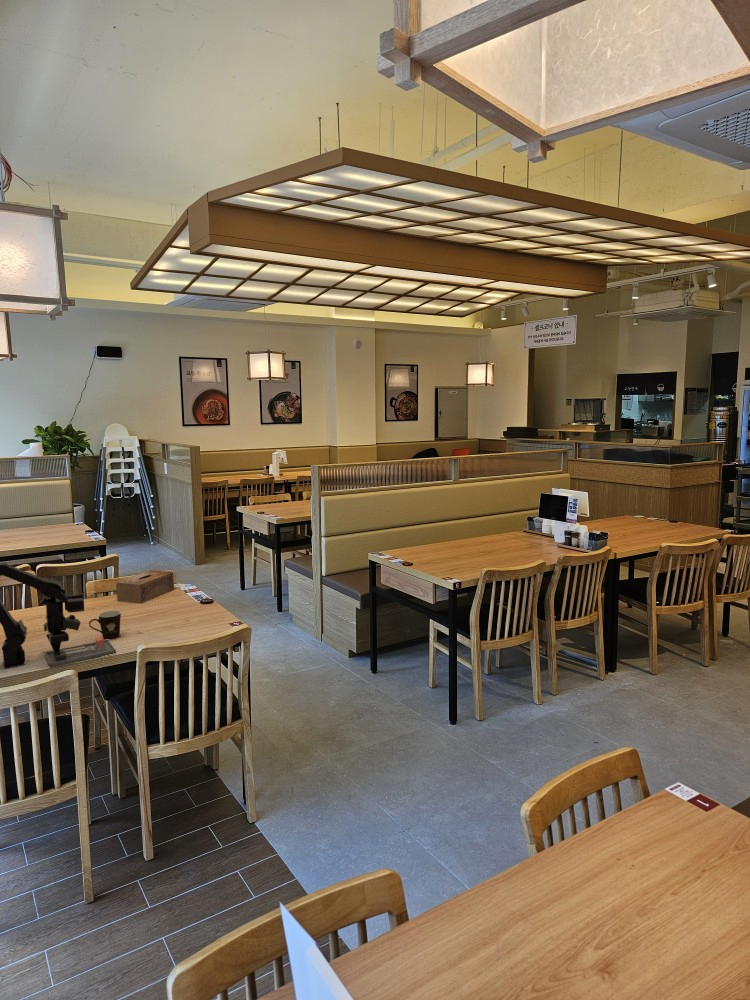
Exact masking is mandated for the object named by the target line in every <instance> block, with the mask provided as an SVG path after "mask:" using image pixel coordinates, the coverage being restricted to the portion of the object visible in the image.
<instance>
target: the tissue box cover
mask: <svg viewBox="0 0 750 1000" xmlns="http://www.w3.org/2000/svg"><path fill="white" fill-rule="evenodd" d="M174 580H175V579H174V571H166V570H153V569H152V570H151V569H149V570H147V571H144V572H141V573H138V574H136V575H134V576H130V577H126V578H125V579H121V580H119V581H116V582H115V584H116V585H115V586H116V587H115V588H116V589H115V590H116V599H117V602H121V603H130V604H131V603H132V604H140V605H142V604H144V603H147V602H148V601H151V600H154V599H155V598H158V597H160V595H161V596H163V595H166V594H168V593H170V592H172V591H173V592H174V591H175V583H174V582H175V581H174ZM165 593H166V594H165Z"/></svg>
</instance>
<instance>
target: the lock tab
mask: <svg viewBox="0 0 750 1000" xmlns="http://www.w3.org/2000/svg"><path fill="white" fill-rule="evenodd" d="M104 640H105V639H103V636H100V637H99V636H98V637H95V642H96V645H97V647H99V646H104Z"/></svg>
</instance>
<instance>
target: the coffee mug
mask: <svg viewBox="0 0 750 1000" xmlns="http://www.w3.org/2000/svg"><path fill="white" fill-rule="evenodd" d="M121 613H122V612H121V611H119V610H108V611H107V610H106V611H103V612H100V613H99V614H98V615H97V616H98V619H97V618H92V619H91V620H90V621H89V623H88V625H89V627H90V629H92V630H94V631H96V632H100V633H101V635H102V636H101V637H102V638H103V639H104V640H105V639H111V640H116V639H118V638H120V632H121V617H122V614H121ZM94 621H96V622H97V623H98V624H99V625H100V629H98V628H95V627H93V626H92V625H91V623H92V622H94Z"/></svg>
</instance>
